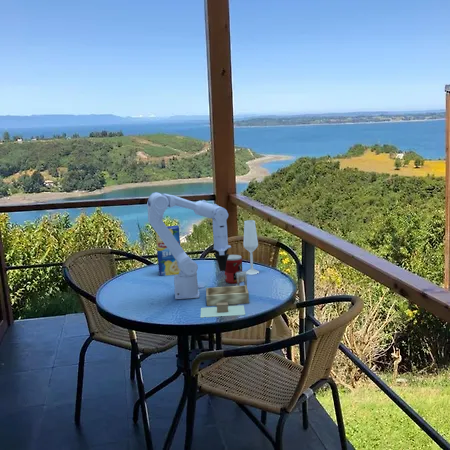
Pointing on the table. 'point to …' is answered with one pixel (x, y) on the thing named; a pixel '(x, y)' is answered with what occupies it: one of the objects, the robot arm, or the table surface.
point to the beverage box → (167, 254)
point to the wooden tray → (227, 295)
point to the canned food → (233, 268)
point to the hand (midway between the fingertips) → (222, 268)
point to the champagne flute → (250, 242)
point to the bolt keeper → (240, 274)
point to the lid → (222, 310)
